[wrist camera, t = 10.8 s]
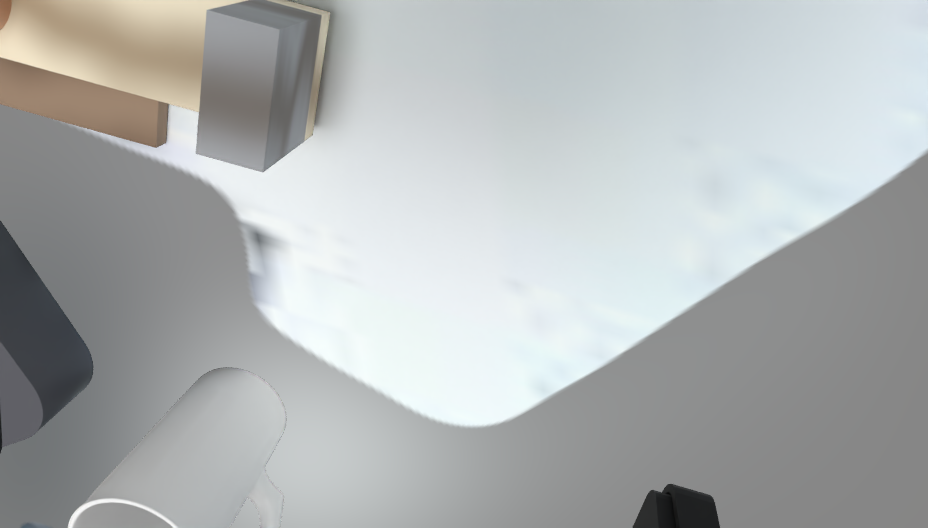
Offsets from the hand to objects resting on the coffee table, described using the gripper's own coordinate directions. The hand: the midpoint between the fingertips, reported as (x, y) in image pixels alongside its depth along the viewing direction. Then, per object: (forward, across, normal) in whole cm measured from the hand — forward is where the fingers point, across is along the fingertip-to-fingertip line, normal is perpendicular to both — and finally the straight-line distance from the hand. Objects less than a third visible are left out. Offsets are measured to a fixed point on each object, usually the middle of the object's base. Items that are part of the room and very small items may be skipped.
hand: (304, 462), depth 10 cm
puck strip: (+27, +20, +2) cm, 34 cm away
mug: (+28, +10, +25) cm, 39 cm away
